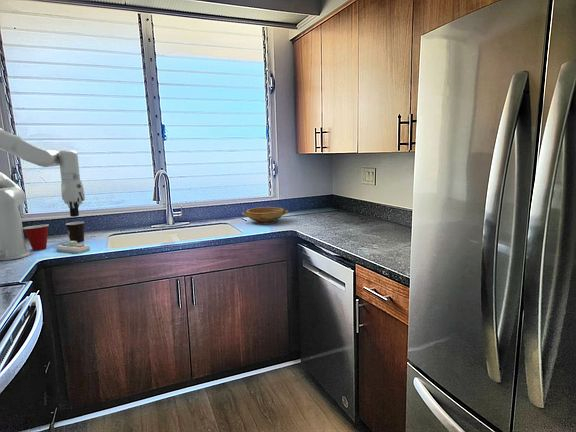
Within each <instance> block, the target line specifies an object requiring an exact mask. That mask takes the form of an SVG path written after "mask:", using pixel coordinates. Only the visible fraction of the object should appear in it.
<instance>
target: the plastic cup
mask: <svg viewBox="0 0 576 432" xmlns="http://www.w3.org/2000/svg"><path fill="white" fill-rule="evenodd" d="M49 226H50V224H48V223H47V224H38V225H30V226H29V225H28V226H24V227H23V231H24V233H25V235H26V236H27V239H28V242H29V244H30V247H31V249H32V250H33V251H42V250H45V249H47V248H48V247H47V245H48V230H49Z"/></svg>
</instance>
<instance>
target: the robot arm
mask: <svg viewBox="0 0 576 432" xmlns="http://www.w3.org/2000/svg"><path fill="white" fill-rule="evenodd" d="M0 151H2V152H6V153H7V154H10V155H12V156H15V157H16V158H18V159H21V160H23V161H25V162H28V163H30V164H33V165H36V166H39V167H41V168H52V167H59V170H60V179H61V181H60V182H61V185H60V191H61V199H62V201H64V204H66V205H67V207H68V209H69V214H70V215H69V216H70V217H71V218H74V217H79V216H80V212H79V207H80V205H82V204H83V201H86V200H85V199H86V196H85V191H84V186H83V182H82V180H81V176H80V175H81V174H80V166H79V156H78V155H79V154H78V152H77V151H76V150H71V149H70V150H67V149H66V150H55V149H54V150H53V149H43V148H41V147H38V146H35V145H33V144H31V143H29V142H27V141H25V140H23V137H21V136H19V135H17V134H14V133H11V132H8V131H6V130H4V129H3V128H1V127H0ZM26 198H27V197H26V193H25V192H24V190H23V189H22V188H21V187H20V186H19V185H18V184H17V183H16V182H14V181H13V180H12V179H11V178H10V177H8V176H7V175H6V174H4V173H3V172H1V171H0V261H11V260H17V259H18V260H19V259H21V258H22V259H23V258H25V257H28V256H30V255H32V254H31V250H27V247H26V239H25V234H24V233H25V232H24V229H23V228H24V227H23V221H22V216H21V213H20V210H19V208H18V207H19V206H21V205H23V204H24V203H25V202H26Z"/></svg>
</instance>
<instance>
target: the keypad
mask: <svg viewBox="0 0 576 432" xmlns="http://www.w3.org/2000/svg"><path fill="white" fill-rule="evenodd" d="M56 249H57V250H56V251H57V252H63V253H72V254H79V253H80V254H82V253H86V252H90V251H91V247H90V245H89V244H84V247H76V246H69V245H68V246H62V244H59V245H56Z"/></svg>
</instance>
